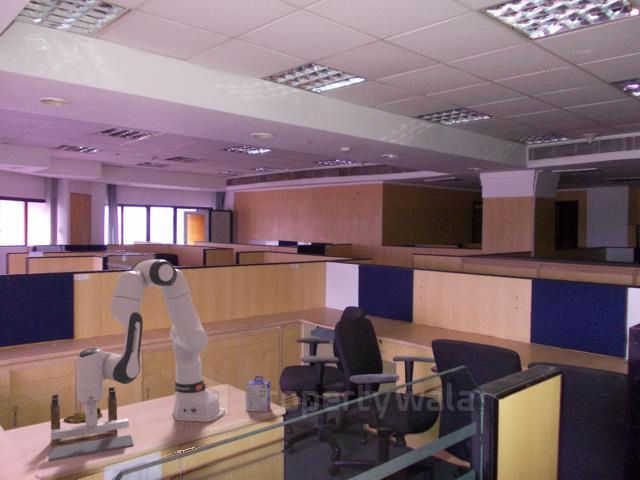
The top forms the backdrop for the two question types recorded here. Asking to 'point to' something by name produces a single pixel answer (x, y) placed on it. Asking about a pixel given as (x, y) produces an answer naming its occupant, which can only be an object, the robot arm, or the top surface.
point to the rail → (84, 430)
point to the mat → (90, 447)
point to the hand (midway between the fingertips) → (91, 430)
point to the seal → (80, 417)
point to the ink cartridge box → (258, 395)
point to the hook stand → (56, 425)
